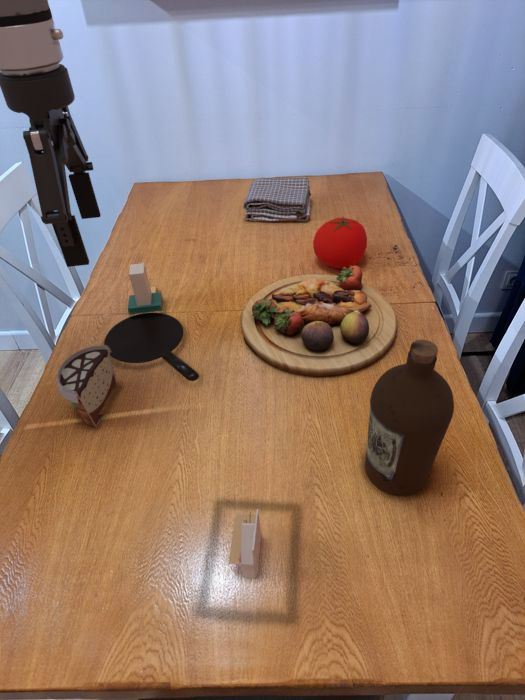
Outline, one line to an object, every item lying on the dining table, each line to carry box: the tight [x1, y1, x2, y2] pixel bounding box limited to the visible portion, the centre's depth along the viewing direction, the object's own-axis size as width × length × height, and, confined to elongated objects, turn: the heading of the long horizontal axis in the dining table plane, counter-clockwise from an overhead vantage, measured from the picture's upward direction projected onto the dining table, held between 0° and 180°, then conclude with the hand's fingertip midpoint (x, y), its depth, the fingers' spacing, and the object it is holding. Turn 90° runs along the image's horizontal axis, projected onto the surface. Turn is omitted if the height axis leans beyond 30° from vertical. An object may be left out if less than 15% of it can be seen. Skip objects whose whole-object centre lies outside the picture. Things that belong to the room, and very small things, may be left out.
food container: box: [56, 344, 118, 429], centre depth 84 cm, size 12×6×10 cm, turn 168°
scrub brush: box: [127, 262, 163, 315], centre depth 105 cm, size 5×7×11 cm
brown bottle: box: [364, 339, 455, 497], centre depth 67 cm, size 11×11×25 cm
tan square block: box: [150, 285, 157, 293], centre depth 111 cm, size 4×4×2 cm
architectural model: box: [228, 508, 262, 579], centre depth 64 cm, size 3×7×7 cm, turn 175°
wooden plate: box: [240, 265, 398, 376], centre depth 99 cm, size 32×32×8 cm
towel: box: [242, 176, 312, 223], centre depth 139 cm, size 15×18×8 cm
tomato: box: [312, 216, 368, 270], centre depth 116 cm, size 12×13×11 cm
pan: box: [103, 312, 200, 382], centre depth 97 cm, size 26×16×2 cm, turn 43°
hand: (85, 239), depth 68 cm, fingers open, 13 cm apart
